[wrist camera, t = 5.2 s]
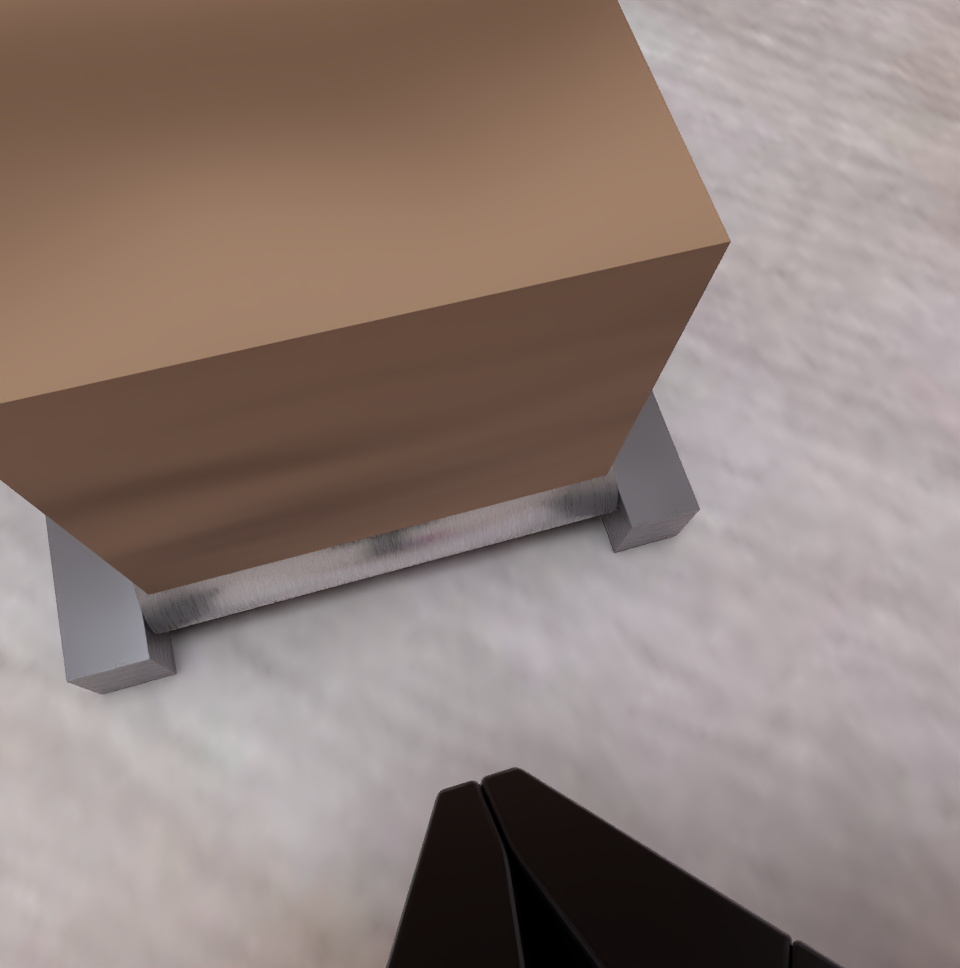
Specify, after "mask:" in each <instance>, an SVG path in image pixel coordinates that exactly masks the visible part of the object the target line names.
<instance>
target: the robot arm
mask: <svg viewBox="0 0 960 968" xmlns="http://www.w3.org/2000/svg"><path fill="white" fill-rule="evenodd" d="M480 786H481V787H480ZM386 968H844V967H842V966H840V965H839V964H837V963H836V962H834V961H832V960H831V959H829V958H828V957H826V956H824V955H823V954H821V953H819V952H818V951H816V950H815V949H813V948H811V947H810V946H808V945H807V944H805V943H803V942H802V941H799V940H797V941H795V942H794V943H792V938H791V937H790V936H789V935H788V934H786V933H785V932H783V931H781V930H780V929H778V928H777V927H775V926H773V925H772V924H770V923H769V922H767V921H765V920H764V919H762V918H760V917H759V916H757V915H756V914H754V913H752V912H751V911H749V910H748V909H746V908H744V907H743V906H741V905H740V904H738V903H736V902H735V901H733V900H732V899H730V898H728V897H727V896H725V895H724V894H722V893H720V892H719V891H717V890H715V889H714V888H712V887H711V886H709V885H707V884H706V883H704V882H703V881H701V880H699V879H698V878H696V877H695V876H693V875H691V874H690V873H688V872H687V871H685V870H683V869H682V868H680V867H678V866H677V865H675V864H674V863H672V862H670V861H669V860H667V859H666V858H664V857H662V856H661V855H659V854H658V853H656V852H654V851H653V850H651V849H650V848H648V847H646V846H645V845H643V844H642V843H640V842H638V841H637V840H635V839H633V838H632V837H630V836H629V835H627V834H625V833H624V832H622V831H621V830H619V829H617V828H616V827H614V826H613V825H611V824H609V823H608V822H606V821H605V820H603V819H601V818H600V817H598V816H597V815H595V814H593V813H592V812H590V811H588V810H587V809H585V808H584V807H582V806H580V805H579V804H577V803H576V802H574V801H572V800H571V799H569V798H568V797H566V796H564V795H563V794H561V793H560V792H558V791H556V790H555V789H553V788H552V787H550V786H548V785H547V784H545V783H543V782H542V781H540V780H539V779H537V778H535V777H534V776H532V775H531V774H529V773H527V772H526V771H524V770H523V769H520V768H517V767H515V768H510V769H507V770H504V771H501V772H498V773H494V774H491V775H488V776H485V777H483V779H482V780H481V783H480V785H479V784H478V783H477V782H476V781H469V782H466V783H462V784H459V785H456V786H453V787H449V788H446V789H443V790H441V791H440V792H439V793H438V795H437V798H436V800H435V804H434V807H433V811H432V814H431V817H430V821H429V824H428V827H427V831H426V834H425V838H424V841H423V844H422V848H421V851H420V855H419V858H418V861H417V865H416V868H415V871H414V875H413V878H412V882H411V885H410V888H409V892H408V895H407V898H406V902H405V905H404V909H403V912H402V915H401V919H400V922H399V925H398V929H397V932H396V936H395V939H394V942H393V946H392V949H391V952H390V956H389V959H388V963H387V966H386Z"/></svg>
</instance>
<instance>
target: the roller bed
mask: <svg viewBox="0 0 960 968" xmlns="http://www.w3.org/2000/svg"><path fill="white" fill-rule="evenodd" d="M699 510H700V508H699V505H698V503H697V500H696V498H695V496H694V493H693V491H692V488H691V486H690V483H689V481H688V478H687V476H686V473H685V471H684V468H683V466H682V463H681V461H680V458H679V456H678V453H677V451H676V449H675V446H674V444H673V441H672V439H671V436H670V434H669V431H668V429H667V426H666V424H665V421H664V419H663V416H662V414H661V411H660V409H659V407H658V404H657V402H656V399H655V397H654V394H653V392H652V391H651V393H650V395H649V397H648V398H647V400H646V402H645V404H644V406H643V408H642V410H641V412H640V414H639V415H638V417H637V419H636V421H635V423H634V425H633V427H632V429H631V431H630V432H629V434H628V436H627V438H626V440H625V442H624V444H623V446H622V447H621V449H620V451H619V453H618V455H617V457H616V459H615V461H614V463H613V464H612V466H611V468H610V470H609V472H608V474H607V475H606V476H602V477H598V478H594V479H590V480H586V481H583V482H579V483H575V484H571V485H567V486H563V487H560V488H556V489H552V490H548V491H544V492H540V493H537V494H533V495H529V496H525V497H521V498H518V499H514V500H510V501H506V502H502V503H498V504H495V505H491V506H487V507H483V508H479V509H475V510H472V511H468V512H464V513H460V514H456V515H452V516H449V517H445V518H441V519H437V520H433V521H430V522H426V523H422V524H418V525H414V526H410V527H407V528H403V529H399V530H395V531H391V532H387V533H384V534H380V535H376V536H372V537H368V538H364V539H361V540H357V541H353V542H349V543H345V544H341V545H338V546H334V547H330V548H326V549H322V550H319V551H315V552H311V553H307V554H303V555H299V556H296V557H292V558H288V559H284V560H280V561H276V562H273V563H269V564H265V565H261V566H257V567H253V568H250V569H246V570H242V571H238V572H234V573H231V574H227V575H223V576H219V577H215V578H211V579H208V580H204V581H200V582H196V583H192V584H188V585H185V586H181V587H177V588H173V589H169V590H165V591H162V592H158V593H154V594H150V595H148V594H147V593H146V592H144V591H143V590H142V589H140V588H139V587H138V586H137V585H135V584H134V583H133V582H131V581H130V580H129V579H128V578H126V577H125V576H124V575H122V574H121V573H120V572H119V571H117V570H116V569H115V568H113V567H112V566H111V565H110V564H108V563H107V562H106V561H104V560H103V559H102V558H101V557H99V556H98V555H97V554H95V553H94V552H93V551H92V550H90V549H89V548H88V547H86V546H85V545H84V544H82V543H81V542H80V541H79V540H77V539H76V538H75V537H73V536H72V535H71V534H70V533H68V532H67V531H66V530H64V529H63V528H62V527H61V526H59V525H58V524H57V523H55V522H54V521H53V520H52V519H50V518H49V517H48V516H46V515H45V516H46V524H47V531H48V539H49V547H50V555H51V563H52V571H53V578H54V586H55V594H56V602H57V610H58V618H59V625H60V633H61V641H62V649H63V657H64V665H65V672H66V680H67V682H69V683H72V684H74V685H77V686H80V687H83V688H85V689H88V690H91V691H94V692H97V693H99V694H104V693H108V692H112V691H115V690H119V689H122V688H126V687H130V686H133V685H137V684H141V683H144V682H148V681H151V680H155V679H159V678H162V677H166V676H170V675H173V674H176V671H175V665H174V659H173V653H172V647H171V642H170V636H169V631H171V630H175V629H178V628H182V627H186V626H190V625H193V624H197V623H201V622H205V621H208V620H212V619H216V618H219V617H223V616H227V615H231V614H234V613H238V612H242V611H245V610H249V609H253V608H257V607H260V606H264V605H268V604H272V603H275V602H279V601H283V600H286V599H290V598H294V597H298V596H301V595H305V594H309V593H312V592H316V591H320V590H324V589H327V588H331V587H335V586H339V585H342V584H346V583H350V582H353V581H357V580H361V579H365V578H368V577H372V576H376V575H379V574H383V573H387V572H391V571H394V570H398V569H402V568H406V567H409V566H413V565H417V564H420V563H424V562H428V561H432V560H435V559H439V558H443V557H446V556H450V555H454V554H458V553H461V552H465V551H469V550H473V549H476V548H480V547H484V546H487V545H491V544H495V543H499V542H502V541H506V540H510V539H513V538H517V537H521V536H525V535H528V534H532V533H536V532H540V531H543V530H547V529H551V528H554V527H558V526H562V525H566V524H569V523H573V522H577V521H580V520H584V519H588V518H592V517H595V516H599V515H601V516H602V519H603V522H604V525H605V527H606V530H607V533H608V536H609V538H610V541H611V544H612V547H613V549H614V552H618V551H622V550H625V549H629V548H632V547H636V546H640V545H643V544H647V543H651V542H654V541H658V540H661V539H665V538H669V537H672V536H676V535H677V534H678V533H679V532H680V531H681V530H682V529H683V527H684V526H685V525H686V524H687V523H688V522H689V521H690V520H691V519H692V517H693V516H694V515H695V514H696V513H697V512H698V511H699Z"/></svg>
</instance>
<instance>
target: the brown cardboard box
mask: <svg viewBox="0 0 960 968" xmlns="http://www.w3.org/2000/svg"><path fill="white" fill-rule="evenodd" d="M730 242H731V241H730V239H729V237H728V234H727V232H726V230H725V228H724V226H723V224H722V222H721V220H720V217H719V215H718V213H717V211H716V209H715V207H714V205H713V203H712V200H711V198H710V196H709V194H708V192H707V190H706V188H705V186H704V183H703V181H702V179H701V177H700V175H699V173H698V171H697V169H696V166H695V164H694V162H693V160H692V158H691V156H690V154H689V152H688V149H687V147H686V145H685V143H684V141H683V139H682V137H681V135H680V132H679V130H678V128H677V126H676V124H675V122H674V120H673V118H672V115H671V113H670V111H669V109H668V107H667V105H666V103H665V101H664V98H663V96H662V94H661V92H660V90H659V88H658V86H657V84H656V81H655V79H654V77H653V75H652V73H651V71H650V69H649V67H648V64H647V62H646V60H645V58H644V56H643V54H642V52H641V50H640V47H639V45H638V43H637V41H636V39H635V37H634V35H633V33H632V30H631V28H630V26H629V24H628V22H627V20H626V18H625V16H624V13H623V11H622V9H621V7H620V5H619V3H618V1H617V0H0V480H1V481H3V482H4V483H5V484H6V485H8V486H9V487H10V488H12V489H13V490H14V491H15V492H17V493H18V494H19V495H21V496H22V497H23V498H25V499H26V500H27V501H28V502H30V503H31V504H32V505H34V506H35V507H36V508H37V509H39V510H40V511H41V512H43V513H44V514H45V515H46V516H48V517H49V518H50V519H52V520H53V521H54V522H55V523H57V524H58V525H59V526H61V527H62V528H63V529H64V530H66V531H67V532H68V533H70V534H71V535H72V536H73V537H75V538H76V539H77V540H79V541H80V542H81V543H82V544H84V545H85V546H86V547H88V548H89V549H90V550H92V551H93V552H94V553H95V554H97V555H98V556H99V557H101V558H102V559H103V560H104V561H106V562H107V563H108V564H110V565H111V566H112V567H113V568H115V569H116V570H117V571H119V572H120V573H121V574H122V575H124V576H125V577H126V578H128V579H129V580H130V581H131V582H133V583H134V584H135V585H137V586H138V587H139V588H140V589H142V590H143V591H144V592H146V593H147V594H148V595H150V594H154V593H158V592H162V591H165V590H169V589H173V588H177V587H181V586H185V585H188V584H192V583H196V582H200V581H204V580H208V579H211V578H215V577H219V576H223V575H227V574H231V573H234V572H238V571H242V570H246V569H250V568H253V567H257V566H261V565H265V564H269V563H273V562H276V561H280V560H284V559H288V558H292V557H296V556H299V555H303V554H307V553H311V552H315V551H319V550H322V549H326V548H330V547H334V546H338V545H341V544H345V543H349V542H353V541H357V540H361V539H364V538H368V537H372V536H376V535H380V534H384V533H387V532H391V531H395V530H399V529H403V528H407V527H410V526H414V525H418V524H422V523H426V522H430V521H433V520H437V519H441V518H445V517H449V516H452V515H456V514H460V513H464V512H468V511H472V510H475V509H479V508H483V507H487V506H491V505H495V504H498V503H502V502H506V501H510V500H514V499H518V498H521V497H525V496H529V495H533V494H537V493H540V492H544V491H548V490H552V489H556V488H560V487H563V486H567V485H571V484H575V483H579V482H583V481H586V480H590V479H594V478H598V477H602V476H606V475H607V474H608V472H609V470H610V468H611V466H612V464H613V463H614V461H615V459H616V457H617V455H618V453H619V451H620V449H621V447H622V446H623V444H624V442H625V440H626V438H627V436H628V434H629V432H630V431H631V429H632V427H633V425H634V423H635V421H636V419H637V417H638V415H639V414H640V412H641V410H642V408H643V406H644V404H645V402H646V400H647V398H648V397H649V395H650V393H651V391H652V389H653V387H654V385H655V383H656V381H657V380H658V378H659V376H660V374H661V372H662V370H663V368H664V366H665V364H666V363H667V361H668V359H669V357H670V355H671V353H672V351H673V349H674V347H675V346H676V344H677V342H678V340H679V338H680V336H681V334H682V332H683V331H684V329H685V327H686V325H687V323H688V321H689V319H690V317H691V315H692V314H693V312H694V310H695V308H696V306H697V304H698V302H699V300H700V298H701V297H702V295H703V293H704V291H705V289H706V287H707V285H708V283H709V281H710V280H711V278H712V276H713V274H714V272H715V270H716V268H717V266H718V264H719V263H720V261H721V259H722V257H723V255H724V253H725V251H726V249H727V247H728V246H729V244H730Z"/></svg>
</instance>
